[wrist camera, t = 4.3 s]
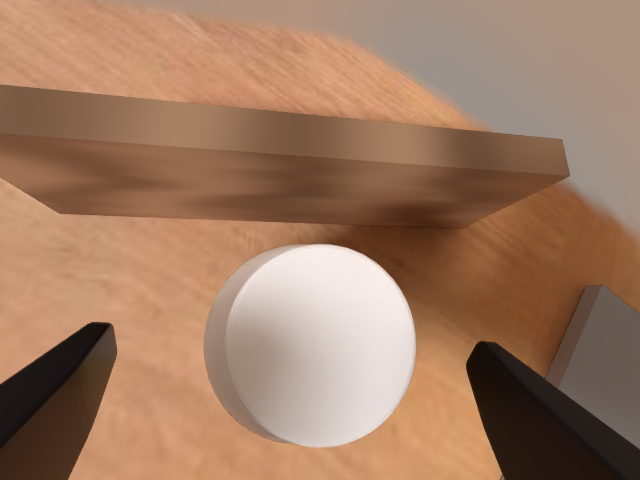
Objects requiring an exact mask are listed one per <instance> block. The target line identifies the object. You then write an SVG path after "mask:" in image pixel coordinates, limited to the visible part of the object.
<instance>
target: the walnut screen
mask: <svg viewBox="0 0 640 480" xmlns="http://www.w3.org/2000/svg"><path fill="white" fill-rule="evenodd" d="M569 176H570V174H569V169H568V164H567V160H566V155H565V151H564V146H563V141H562V139H553V138H542V137H532V136H522V135H512V134H502V133H491V132H481V131H471V130H461V129H450V128H440V127H430V126H420V125H409V124H399V123H389V122H379V121H368V120H358V119H348V118H338V117H327V116H317V115H307V114H297V113H286V112H276V111H266V110H256V109H245V108H235V107H225V106H215V105H204V104H194V103H184V102H174V101H163V100H153V99H143V98H133V97H122V96H112V95H102V94H92V93H81V92H71V91H61V90H51V89H40V88H30V87H20V86H10V85H0V177H1V178H2V179H4V180H5V181H7V182H9V183H10V184H12V185H14V186H15V187H17V188H18V189H20V190H22V191H23V192H25V193H27V194H28V195H30V196H31V197H33V198H35V199H36V200H38V201H40V202H41V203H43V204H45V205H46V206H48V207H49V208H51V209H53V210H54V211H56V212H58V213H59V214H80V215H106V216H133V217H159V218H186V219H212V220H239V221H265V222H292V223H318V224H344V225H371V226H397V227H424V228H450V229H462V228H464V227H466V226H468V225H470V224H472V223H474V222H476V221H478V220H480V219H482V218H484V217H486V216H488V215H490V214H492V213H495V212H497V211H499V210H501V209H503V208H505V207H507V206H509V205H511V204H513V203H515V202H517V201H519V200H521V199H523V198H525V197H527V196H530V195H532V194H534V193H536V192H538V191H540V190H542V189H544V188H546V187H548V186H550V185H552V184H554V183H556V182H558V181H560V180H562V179H565V178H567V177H569Z"/></svg>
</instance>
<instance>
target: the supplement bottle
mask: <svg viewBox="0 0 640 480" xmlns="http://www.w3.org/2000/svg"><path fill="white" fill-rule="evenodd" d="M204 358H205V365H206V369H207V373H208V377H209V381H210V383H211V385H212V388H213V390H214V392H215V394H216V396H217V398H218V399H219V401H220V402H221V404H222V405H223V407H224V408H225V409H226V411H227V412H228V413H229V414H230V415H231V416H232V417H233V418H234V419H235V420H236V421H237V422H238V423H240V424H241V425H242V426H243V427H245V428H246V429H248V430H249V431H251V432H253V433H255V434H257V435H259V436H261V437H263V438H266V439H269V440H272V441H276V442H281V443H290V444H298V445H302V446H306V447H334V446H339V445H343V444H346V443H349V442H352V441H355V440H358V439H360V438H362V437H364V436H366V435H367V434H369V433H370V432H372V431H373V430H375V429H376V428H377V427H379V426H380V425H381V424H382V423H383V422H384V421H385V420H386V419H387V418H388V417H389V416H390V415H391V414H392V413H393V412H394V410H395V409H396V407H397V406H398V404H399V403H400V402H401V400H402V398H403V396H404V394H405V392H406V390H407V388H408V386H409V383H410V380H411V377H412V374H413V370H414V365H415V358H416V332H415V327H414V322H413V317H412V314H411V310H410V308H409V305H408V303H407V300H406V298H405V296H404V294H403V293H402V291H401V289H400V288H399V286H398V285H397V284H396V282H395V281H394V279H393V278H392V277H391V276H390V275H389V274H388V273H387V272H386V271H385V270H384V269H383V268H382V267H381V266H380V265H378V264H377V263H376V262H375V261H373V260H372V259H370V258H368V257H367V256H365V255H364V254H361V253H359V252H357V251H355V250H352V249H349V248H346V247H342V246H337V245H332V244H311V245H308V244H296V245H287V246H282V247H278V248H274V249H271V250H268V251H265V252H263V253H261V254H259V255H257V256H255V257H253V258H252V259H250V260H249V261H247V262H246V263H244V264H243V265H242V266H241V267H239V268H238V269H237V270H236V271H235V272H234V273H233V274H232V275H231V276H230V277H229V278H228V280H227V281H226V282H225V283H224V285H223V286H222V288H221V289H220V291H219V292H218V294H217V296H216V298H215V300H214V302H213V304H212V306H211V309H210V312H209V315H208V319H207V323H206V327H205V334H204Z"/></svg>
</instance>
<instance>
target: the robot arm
mask: <svg viewBox="0 0 640 480" xmlns="http://www.w3.org/2000/svg"><path fill="white" fill-rule="evenodd" d="M116 356H117V345H116V339H115V333H114V328H113V325H112V324H111V323H105V322H91V323H89V324H87V325H86V326H84V327H83V328H81V329H80V330H78V331H77V332H75V333H74V334H72V335H71V336H70V337H68V338H67V339H65V340H64V341H62V342H61V343H59V344H58V345H56V346H55V347H54V348H52V349H51V350H49V351H48V352H46V353H45V354H43V355H42V356H40V357H39V358H38V359H36V360H35V361H33V362H32V363H30V364H29V365H27V366H26V367H24V368H23V369H22V370H20V371H19V372H17V373H16V374H14V375H13V376H11V377H10V378H8V379H7V380H6V381H4V382H3V383H1V384H0V480H68V479H69V476H70V474H71V472H72V470H73V468H74V466H75V464H76V461H77V459H78V457H79V455H80V453H81V451H82V449H83V446H84V444H85V442H86V440H87V438H88V435H89V433H90V431H91V429H92V426H93V423H94V421H95V418H96V415H97V412H98V409H99V407H100V404H101V401H102V398H103V395H104V392H105V389H106V386H107V383H108V380H109V377H110V374H111V371H112V368H113V366H114V363H115V360H116ZM466 370H467V374H468V377H469V381H470V384H471V387H472V391H473V394H474V397H475V401H476V404H477V407H478V411H479V414H480V417H481V420H482V423H483V426H484V429H485V432H486V434H487V437H488V440H489V442H490V445H491V447H492V450H493V452H494V454H495V457H496V459H497V462H498V464H499V467H500V469H501V472H502V474H503V477H504V479H505V480H640V449H639V448H638V447H636V446H635V445H634V444H632V443H631V442H630V441H628V440H627V439H626V438H624V437H623V436H621V435H620V434H619V433H617V432H616V431H615V430H613V429H612V428H611V427H609V426H608V425H607V424H605V423H604V422H602V421H601V420H600V419H598V418H597V417H596V416H594V415H593V414H592V413H590V412H589V411H588V410H586V409H585V408H584V407H582V406H581V405H579V404H578V403H577V402H575V401H574V400H573V399H571V398H570V397H569V396H567V395H566V394H565V393H563V392H562V391H561V390H559V389H558V388H556V387H555V386H554V385H552V384H551V383H550V382H548V381H547V380H546V379H544V378H543V377H542V376H540V375H539V374H538V373H536V372H535V371H533V370H532V369H531V368H529V367H528V366H527V365H525V364H524V363H523V362H521V361H520V360H519V359H517V358H516V357H514V356H513V355H512V354H510V353H509V352H508V351H506V350H505V349H504V348H502V347H501V346H500V345H498V344H497V343H495V342H489V341H480V342H478V343H477V344H476V346H475V347H474V349H473V351H472V353H471V355H470V356H469V358H468V360H467V363H466Z"/></svg>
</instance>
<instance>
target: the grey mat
mask: <svg viewBox="0 0 640 480" xmlns="http://www.w3.org/2000/svg"><path fill="white" fill-rule="evenodd" d="M545 379H546V380H547V381H548V382H550V383H551V384H552V385H554V386H555V387H556V388H558V389H559V390H561V391H562V392H563V393H565V394H566V395H567V396H569V397H570V398H571V399H573V400H574V401H575V402H577V403H578V404H579V405H581V406H582V407H584V408H585V409H586V410H588V411H589V412H590V413H592V414H593V415H594V416H596V417H597V418H598V419H600V420H601V421H602V422H604V423H605V424H607V425H608V426H609V427H611V428H612V429H613V430H615V431H616V432H617V433H619V434H620V435H621V436H623V437H624V438H626V439H627V440H628V441H630V442H631V443H632V444H634V445H635V446H636V447H638V448H639V449H640V313H638V312H637V311H636V310H635V309H633V308H632V307H631V306H629V305H628V304H627V303H626V302H624V301H623V300H622V299H620V298H619V297H618V296H617V295H615V294H614V293H613V292H612V291H610V290H609V289H608V288H606V287H605V286H604V285H603V284H602V285H595V286H587V287H586V288H585V290H584V292H583V294H582V297H581V299H580V301H579V303H578V306H577V308H576V310H575V312H574V315H573V317H572V319H571V321H570V324H569V326H568V328H567V330H566V333H565V335H564V337H563V339H562V342H561V344H560V346H559V349H558V351H557V353H556V355H555V358H554V360H553V362H552V364H551V367H550V369H549V371H548V373H547V376H546V378H545ZM501 480H505V479H504V477H503V475H502V477H501Z"/></svg>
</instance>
